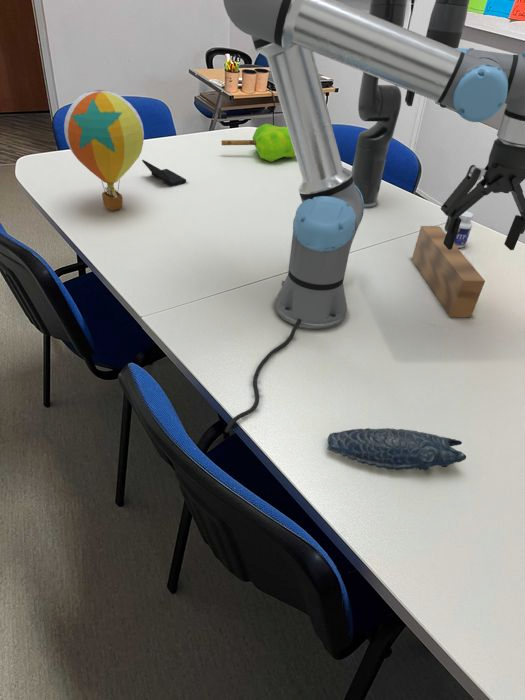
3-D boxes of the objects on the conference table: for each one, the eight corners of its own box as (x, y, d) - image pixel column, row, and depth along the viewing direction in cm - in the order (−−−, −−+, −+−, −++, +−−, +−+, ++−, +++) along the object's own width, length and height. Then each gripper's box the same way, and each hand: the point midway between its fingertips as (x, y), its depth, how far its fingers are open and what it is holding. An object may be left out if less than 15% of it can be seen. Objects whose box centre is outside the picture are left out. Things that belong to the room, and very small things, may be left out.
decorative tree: (218, 120, 186) (299, 120, 191) (218, 150, 192) (297, 149, 197) (225, 135, 172) (312, 134, 177) (225, 166, 178) (309, 165, 184)
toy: (64, 203, 145) (44, 85, 127) (127, 189, 156) (117, 79, 137) (97, 229, 134) (80, 105, 116) (162, 213, 145) (156, 96, 126)
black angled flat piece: (190, 175, 164) (173, 153, 156) (179, 193, 163) (161, 172, 155) (166, 170, 170) (147, 148, 162) (155, 188, 169) (136, 167, 161)
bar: (471, 317, 115) (485, 280, 110) (450, 317, 115) (463, 280, 109) (429, 259, 136) (439, 226, 130) (411, 259, 135) (421, 225, 129)
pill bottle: (444, 245, 142) (454, 215, 137) (446, 237, 146) (456, 207, 141) (464, 249, 141) (475, 219, 135) (465, 241, 145) (476, 212, 139)
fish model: (464, 484, 79) (474, 462, 76) (325, 466, 80) (330, 444, 77) (456, 450, 84) (465, 429, 81) (326, 434, 85) (331, 412, 82)
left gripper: (567, 137, 99) (524, 239, 112) (444, 132, 96) (415, 237, 109) (591, 150, 93) (543, 256, 106) (460, 145, 90) (427, 255, 103)
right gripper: (468, 27, 119) (447, 103, 129) (409, 23, 117) (392, 100, 127) (483, 32, 113) (459, 112, 123) (420, 28, 111) (402, 109, 121)
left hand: (478, 247), depth 108 cm, fingers open, 13 cm apart
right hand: (425, 106), depth 125 cm, fingers open, 8 cm apart
